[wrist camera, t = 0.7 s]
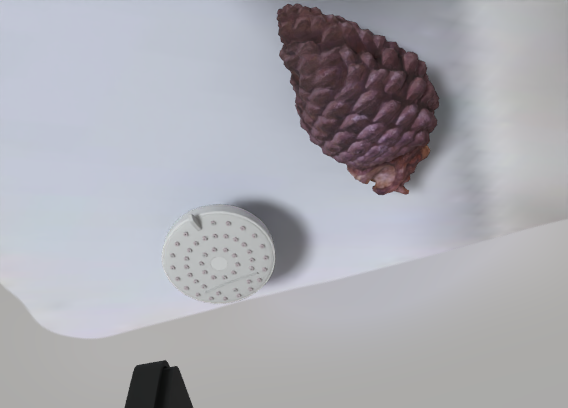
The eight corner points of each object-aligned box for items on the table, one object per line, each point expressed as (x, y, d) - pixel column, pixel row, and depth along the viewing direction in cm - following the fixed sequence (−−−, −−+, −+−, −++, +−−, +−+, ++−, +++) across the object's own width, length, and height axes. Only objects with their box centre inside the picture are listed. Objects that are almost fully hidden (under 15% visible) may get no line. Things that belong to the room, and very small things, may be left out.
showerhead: (245, 194, 37) (293, 288, 42) (243, 156, 43) (285, 241, 48) (134, 239, 38) (193, 326, 43) (148, 195, 44) (198, 275, 49)
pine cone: (233, 37, 38) (233, 67, 30) (335, -53, 36) (367, -49, 27) (360, 188, 46) (389, 247, 37) (451, 122, 43) (505, 169, 35)
